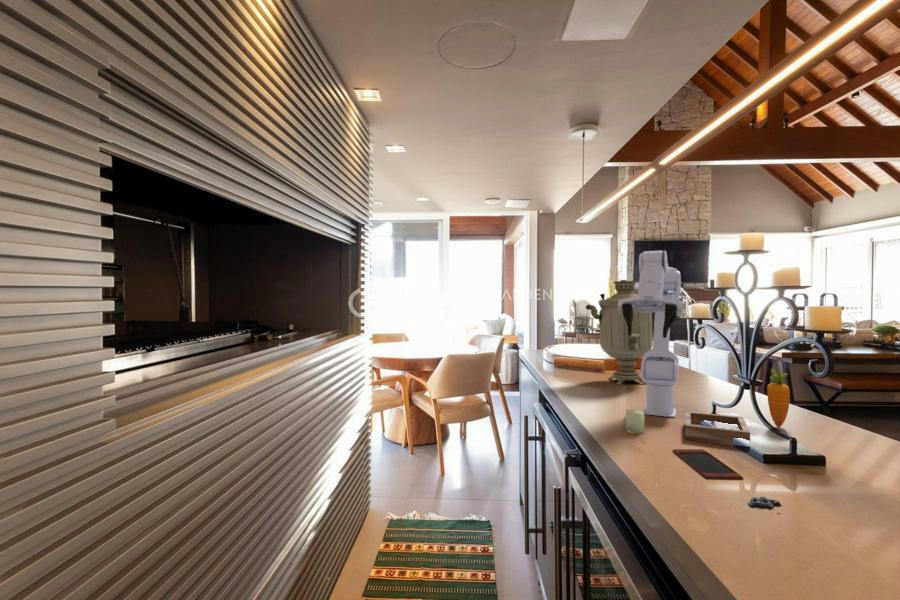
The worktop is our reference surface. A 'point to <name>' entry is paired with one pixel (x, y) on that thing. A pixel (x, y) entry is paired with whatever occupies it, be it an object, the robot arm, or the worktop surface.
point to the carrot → (778, 398)
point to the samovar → (623, 332)
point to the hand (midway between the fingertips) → (646, 334)
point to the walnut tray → (714, 428)
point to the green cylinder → (635, 421)
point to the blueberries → (763, 503)
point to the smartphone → (707, 464)
